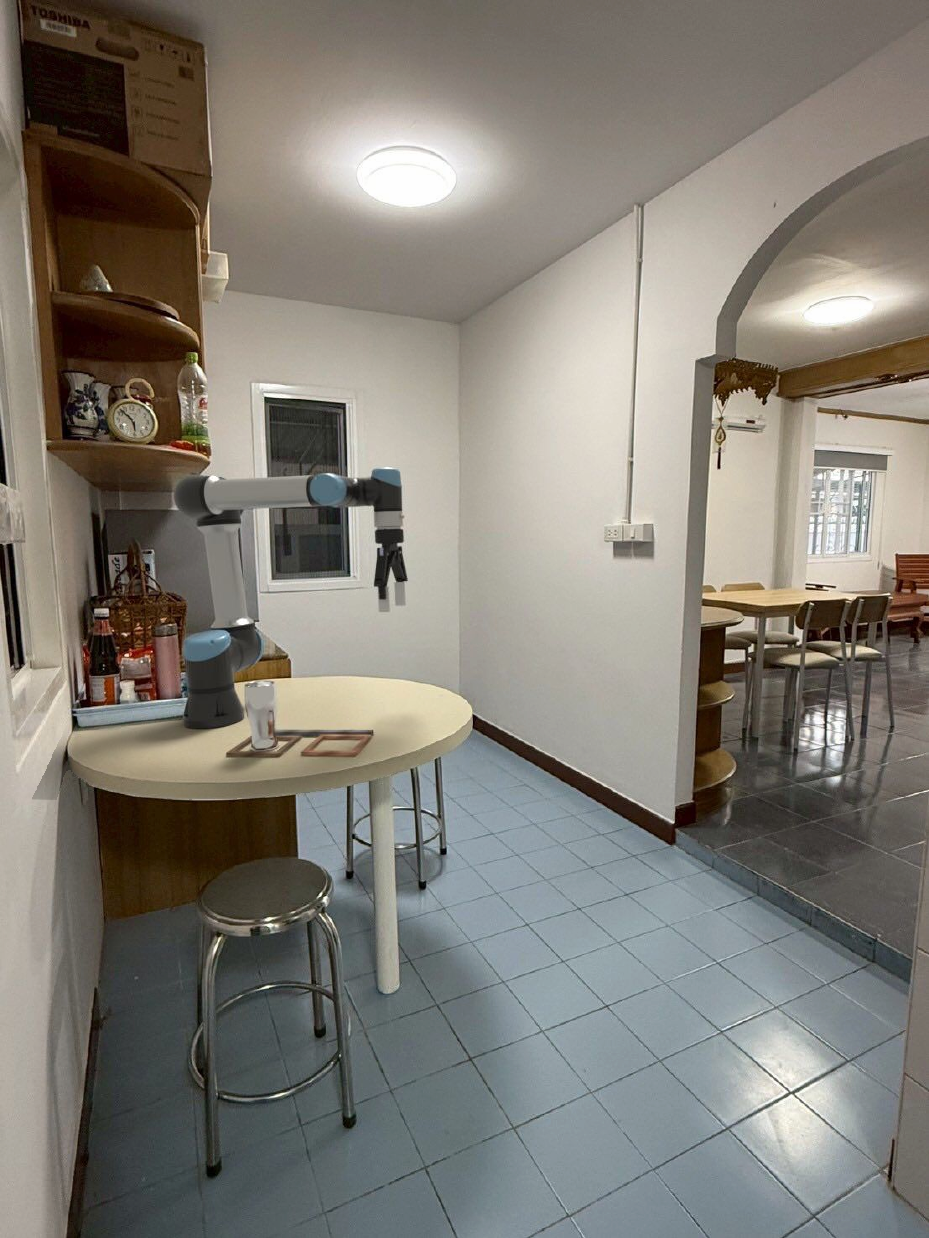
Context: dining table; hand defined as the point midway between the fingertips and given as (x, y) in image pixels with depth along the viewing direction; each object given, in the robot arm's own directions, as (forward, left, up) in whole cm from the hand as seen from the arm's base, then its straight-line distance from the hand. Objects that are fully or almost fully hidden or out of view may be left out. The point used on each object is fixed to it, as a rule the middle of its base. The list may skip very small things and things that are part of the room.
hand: (392, 608), depth 175 cm
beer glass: (-23, -32, -28) cm, 49 cm away
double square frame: (-15, -31, -27) cm, 44 cm away
